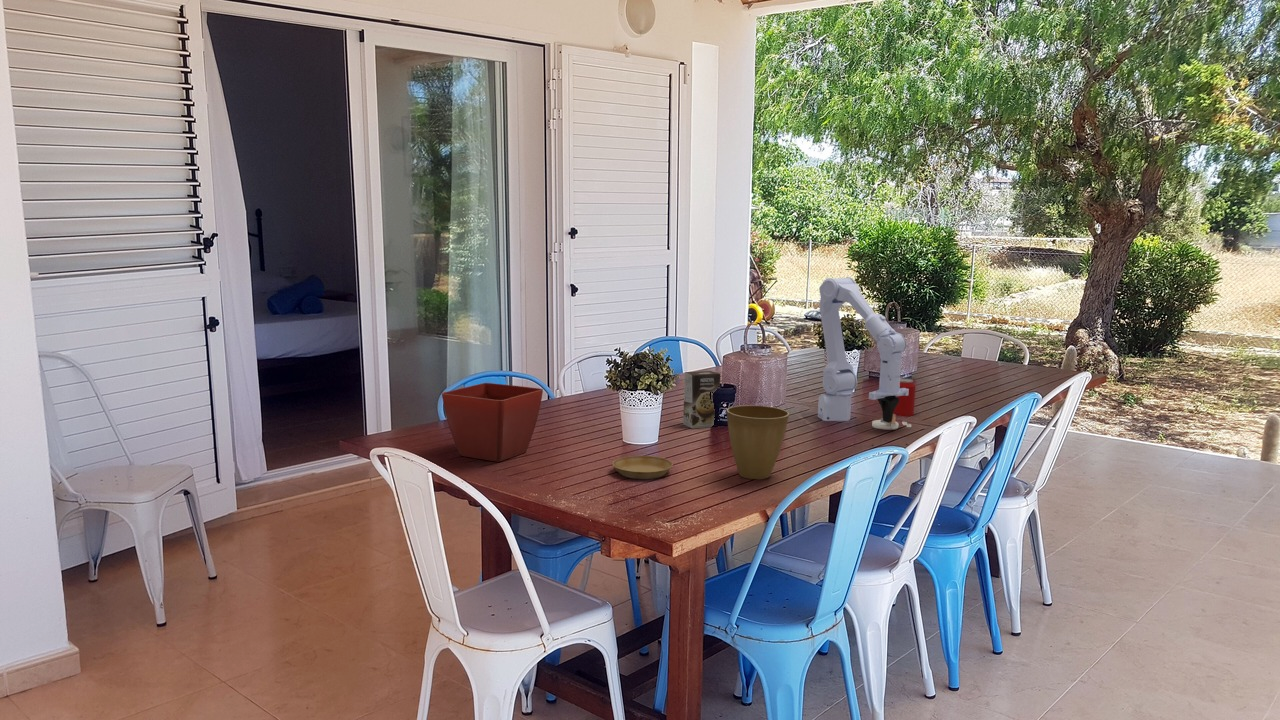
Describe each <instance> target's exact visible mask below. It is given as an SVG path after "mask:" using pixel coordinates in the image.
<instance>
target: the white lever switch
mask: <svg viewBox="0 0 1280 720" xmlns="http://www.w3.org/2000/svg"><path fill="white" fill-rule="evenodd" d="M896 416H897V415H896V414H893V417H892V422H889V423H888V422H884V421H883V417H880V419H875V420H872V421H871V423H872V424H871V427H872V428H874V429H879V430H889V431H891V430H897V429H899V422H898V421H896V418H897V417H896Z"/></svg>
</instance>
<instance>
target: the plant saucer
mask: <svg viewBox="0 0 1280 720" xmlns="http://www.w3.org/2000/svg"><path fill="white" fill-rule="evenodd" d="M612 466H613V468H614V469H615V470H616V472H617V473H618V474H620V475H622V476H623V477H625V478H629V479H635V480H651V479H658V478H661V477H663V476H665V475H666V474H667V473H668V472H669V471H670V470H671V469H672V467H673V466H674V465H673V461H671V460H669V459H667V458H664V457H660V456H654V455H653V456H652V455H632V456H631V455H630V456H625V457H624V456H623V457H619V458H617V459H615V460H613V461H612Z"/></svg>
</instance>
